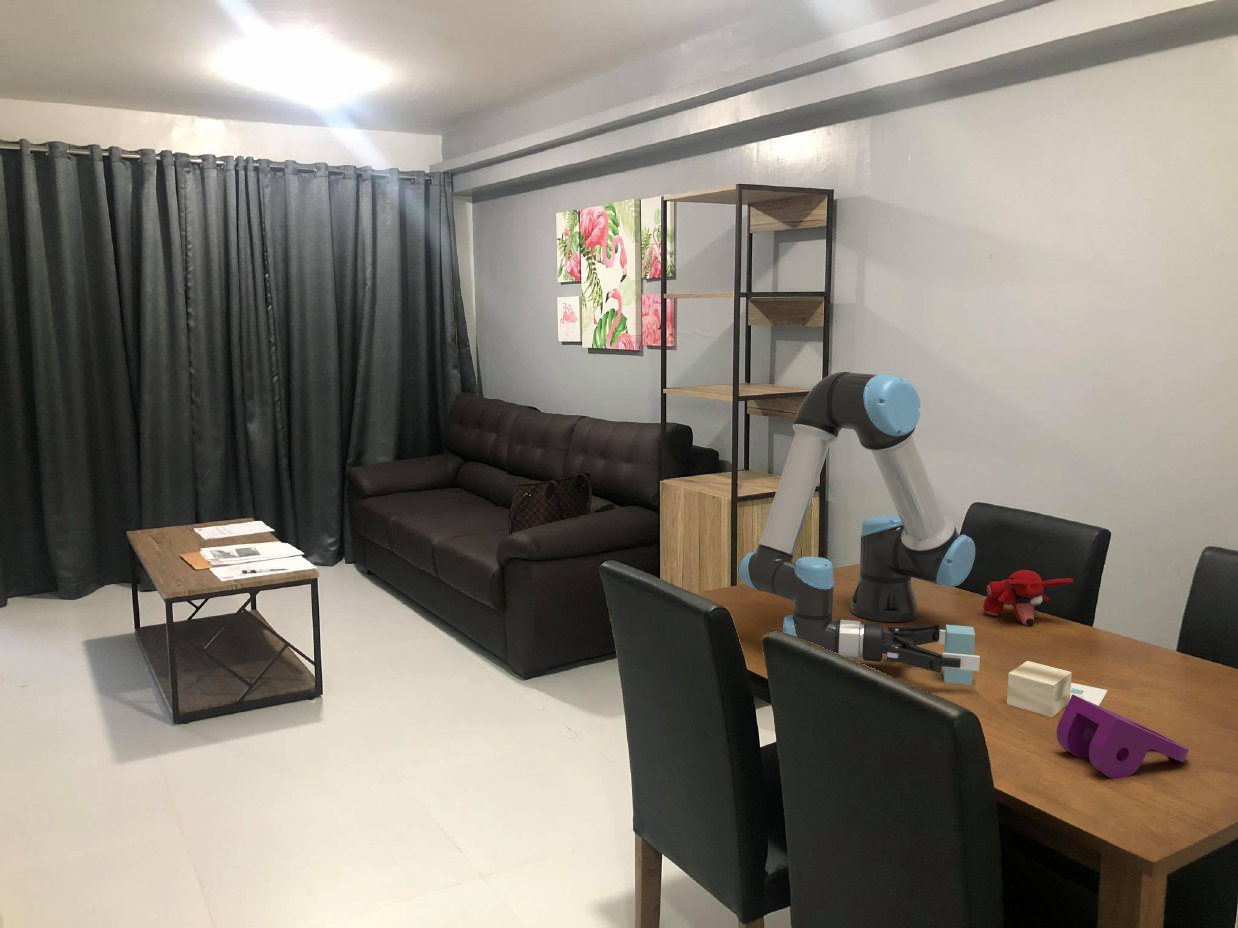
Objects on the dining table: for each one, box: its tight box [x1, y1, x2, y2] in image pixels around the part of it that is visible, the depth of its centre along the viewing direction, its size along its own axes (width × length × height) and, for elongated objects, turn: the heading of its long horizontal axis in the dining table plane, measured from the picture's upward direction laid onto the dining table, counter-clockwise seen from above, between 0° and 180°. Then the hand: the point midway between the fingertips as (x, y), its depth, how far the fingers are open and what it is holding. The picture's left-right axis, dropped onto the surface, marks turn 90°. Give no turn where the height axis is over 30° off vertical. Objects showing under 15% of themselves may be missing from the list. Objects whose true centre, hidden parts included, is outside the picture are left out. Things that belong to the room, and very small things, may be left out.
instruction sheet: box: [1070, 682, 1108, 706], centre depth 181 cm, size 12×9×1 cm
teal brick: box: [942, 624, 976, 686], centre depth 188 cm, size 5×5×10 cm
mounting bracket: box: [1056, 694, 1190, 780], centre depth 155 cm, size 10×9×19 cm
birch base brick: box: [1006, 660, 1073, 718], centre depth 176 cm, size 8×8×6 cm
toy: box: [982, 569, 1074, 627], centre depth 223 cm, size 16×12×16 cm
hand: (976, 651), depth 187 cm, fingers open, 13 cm apart
